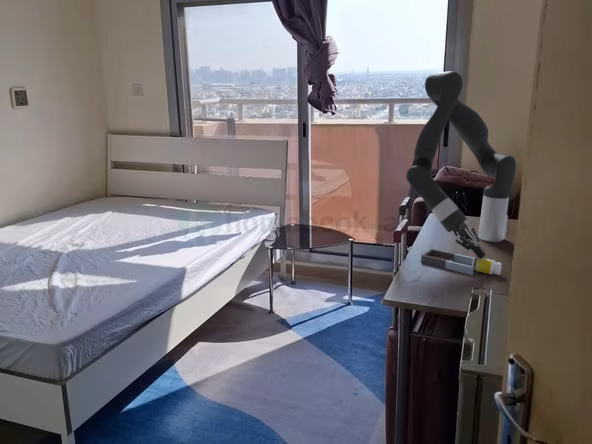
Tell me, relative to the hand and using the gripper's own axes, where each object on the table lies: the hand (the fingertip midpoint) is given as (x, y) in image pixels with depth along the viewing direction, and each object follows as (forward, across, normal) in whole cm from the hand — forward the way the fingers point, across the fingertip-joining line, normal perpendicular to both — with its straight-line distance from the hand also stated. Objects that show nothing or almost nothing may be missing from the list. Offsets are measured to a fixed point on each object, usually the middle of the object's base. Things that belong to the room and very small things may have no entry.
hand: (483, 256), depth 166 cm
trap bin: (-7, 0, +14) cm, 16 cm away
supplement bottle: (0, 0, +4) cm, 4 cm away
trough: (-1, 0, +8) cm, 9 cm away
